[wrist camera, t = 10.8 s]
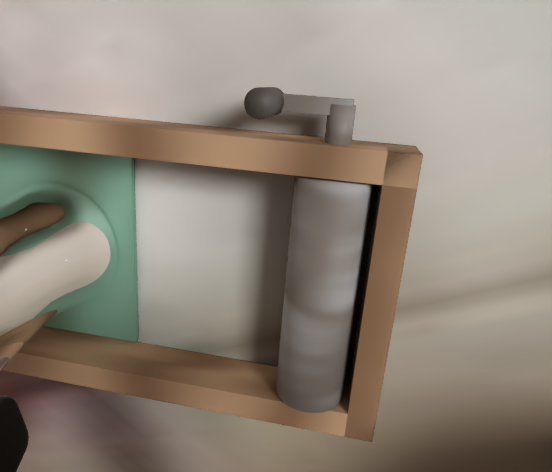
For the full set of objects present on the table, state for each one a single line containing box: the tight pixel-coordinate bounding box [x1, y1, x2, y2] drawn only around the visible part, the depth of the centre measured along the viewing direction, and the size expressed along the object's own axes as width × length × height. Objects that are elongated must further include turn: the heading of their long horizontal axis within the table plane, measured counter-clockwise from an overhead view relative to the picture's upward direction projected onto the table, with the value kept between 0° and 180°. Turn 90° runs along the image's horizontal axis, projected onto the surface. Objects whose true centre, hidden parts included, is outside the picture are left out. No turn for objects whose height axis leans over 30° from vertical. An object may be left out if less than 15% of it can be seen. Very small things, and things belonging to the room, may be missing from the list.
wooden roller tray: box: [0, 87, 423, 442], centre depth 20 cm, size 20×14×4 cm
